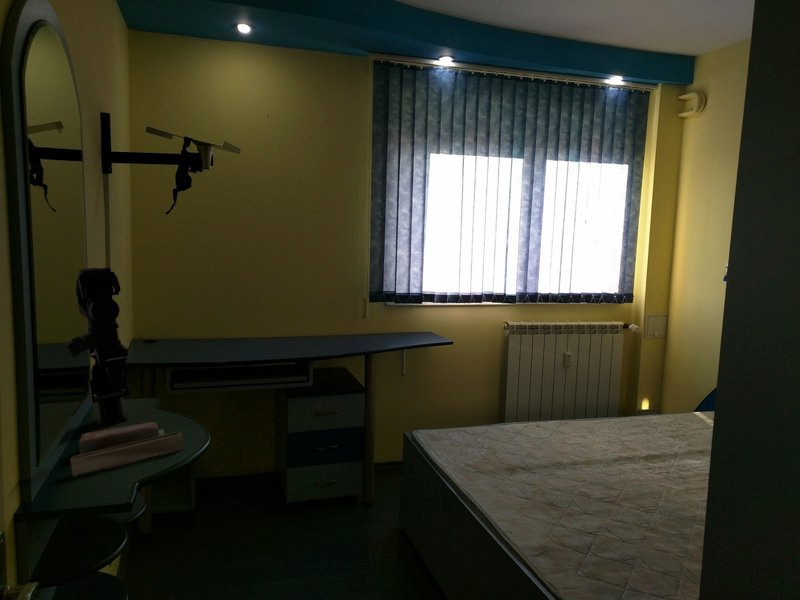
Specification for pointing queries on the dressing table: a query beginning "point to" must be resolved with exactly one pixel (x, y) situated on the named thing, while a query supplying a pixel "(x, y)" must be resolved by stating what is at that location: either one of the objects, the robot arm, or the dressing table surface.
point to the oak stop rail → (126, 453)
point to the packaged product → (117, 436)
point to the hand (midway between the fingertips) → (111, 384)
